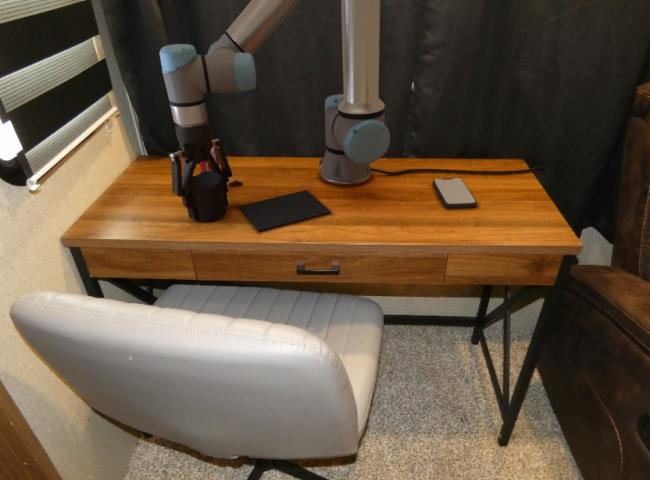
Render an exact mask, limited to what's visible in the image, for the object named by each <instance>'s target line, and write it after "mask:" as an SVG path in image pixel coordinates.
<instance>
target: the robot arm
mask: <svg viewBox="0 0 650 480" xmlns="http://www.w3.org/2000/svg"><path fill="white" fill-rule="evenodd" d="M300 1H301V0H250V1H249V3H248V4H247V5H246V7H244V8H243V10H242V11H241V12H240V13H239V15H238V16H237V17H236V18H235V20H234V21H233V22H232V23H231V24H230V26H229V27H228V28H227V29H226V31H225V32H224V33H223V34H222V36H221V37H220V38H218V40H217V41H214V42H213V43H212V44H211V45H210V46H209V47H208V50H207V54H198V52H197V50H196V48H195V46H194V45H192V44H189V43H183V44H182V43H174V44H168V45H165V46H162V47H161V48H160V51H159V60H160V65H161V72H162V77H163V81H164V84H165V88H166V92H167V97H168V102H169V104H170V110H171V115H172V120H173V123H175V125H174V128H175V133H176V137H177V141H178V142H179V143H178V144H179V149H178V151H175V152H169V153H168V158H169V160H170V164H171V192H172V194H173V195H174V196H177V197H179V198H180V197H181V202H182V205H183V207H184V208H186V209H187V213H188V217H189V218H190V219H192V220H194V221H198V220H197V219H198V218H197V213H196V209H195V204H194V199H193V195H190V194H189V193H190V185H191V183H192V178H193V176H194V172H195V170H196V169H197V166H198V165H199V163H201V162H205V161H206V162H207V164H208V165H209V166H210V168H211V169H212V171H213V172H214V173H216V174H221V175H222V181H223V189H224V196H225V204H226V208H227V207H229V202H228V195H227V193H228V192H229V187H228V183H229V182H230V178H232V177H233V175H234V174H233V172H232V169H231V166H230V163H229V161H228V158H227V156H226V152H225V150H224V142H223V140H221V139H219V138H215V137H214V138H213V139H211V136H212V134H211V128H210V124H209V122H208V119H209V117H208V111H207V105H206V103H205V97H204V96H205V95H204V94H216V93H218V94H219V93H236V92H240V93H242V92H245V91H246V92H247V91H252V90H254V89H255V88H256V87H257V73H256V66H255V61H254V57H253V55H254V54H255V52H256V51H257V50H259V48H260V47H261V46H262V45H263V44H264V42H265V41H266V40H267V39H268V38H269V37H270V36H271V34H272V33H273V32H274V31H275V29H276V28H277V27H278V26H279V25H280V24H281V23H282V22H283V21H284V19H285V18H286V17H287V16H288V15H289V13H290V12H291V11H292V10H293V9H294V8H295V7H296V5H298V3H299V2H300ZM340 11H341V13H340V14H341V17H340V18H341V48H342V49H341V50H342V53H341V55H342V85H343V86H342V87H343V91H342V92H343V93H340V94H333V95H329V96H327V98H326V99H325V101H324V108H323V109H324V110H323V111H324V126H325V127H324V129H325V130H324V131H325V152H324V156H323V157H322V158H321V159H320V160H319V161H318V162H319V163H318V166H319V167H320V169H319V170H320V171H319V175H320V176H319V177H320V179H321V180H322V181H323V182H324V183H327V184H328V185H332V186H336V187H356V186H359V185H363V184H365V183H367V182H369V181H370V179H371V177H372V172H376V173H381V174H385V175H402V174H406V173H415V172H417V173H418V172H428V173H429V172H433V173H434V172H435V173H436V172H439V173H458V174H459V173H460V174H479V175H480V174H482V175H501V174H504V175H505V174H520V173H529V172H533V171H536V170H541V171H542V172H547V170H546V168H545V167H543V166H539V165H538V166H534V167H531V168H527V169H516V170H515V169H514V170H471V169H469V170H468V169H449V168H448V169H446V168H445V169H444V168H410V169H404V170H400V171H387V170H383V169H378V168H373V167H371V166H370V165H371V164H373V163H376V162H377V161H379V160H380V159H381V158H382V157H383V156H384V155H385V154H386V152H387V151H388V149H389V147H390V143H391V134H390V131H389V128H388V127H387V125H386V123H385V116H386V115H385V113H386V112H385V109H386V105H385V102H383V101H382V99H381V98H380V59H381V58H380V55H381V53H380V52H381V51H380V49H381V0H340ZM212 148H214V151H215V154H216V157H217V159H218V162H219V166H218V164H217V163H216V161H215V159H214V157H213V156H212V154H211V153H210V152H211V149H212ZM182 157H183V158H182ZM182 162H183V164H182Z"/></svg>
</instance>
